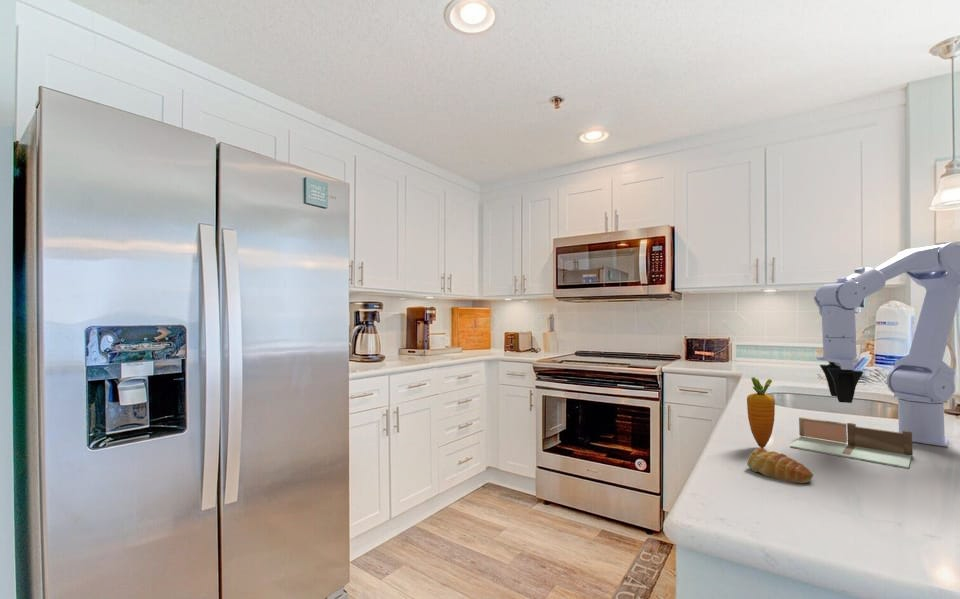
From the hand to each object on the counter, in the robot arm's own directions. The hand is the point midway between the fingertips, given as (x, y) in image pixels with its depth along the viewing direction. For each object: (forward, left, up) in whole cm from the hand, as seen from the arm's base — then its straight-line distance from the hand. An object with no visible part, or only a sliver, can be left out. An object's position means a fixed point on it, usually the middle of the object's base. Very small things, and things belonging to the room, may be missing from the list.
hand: (841, 399), depth 96 cm
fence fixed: (+2, +6, -9) cm, 11 cm away
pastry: (+32, -5, -10) cm, 33 cm away
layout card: (+5, +2, -10) cm, 11 cm away
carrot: (+17, -11, -10) cm, 22 cm away
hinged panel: (+2, -3, -9) cm, 10 cm away
